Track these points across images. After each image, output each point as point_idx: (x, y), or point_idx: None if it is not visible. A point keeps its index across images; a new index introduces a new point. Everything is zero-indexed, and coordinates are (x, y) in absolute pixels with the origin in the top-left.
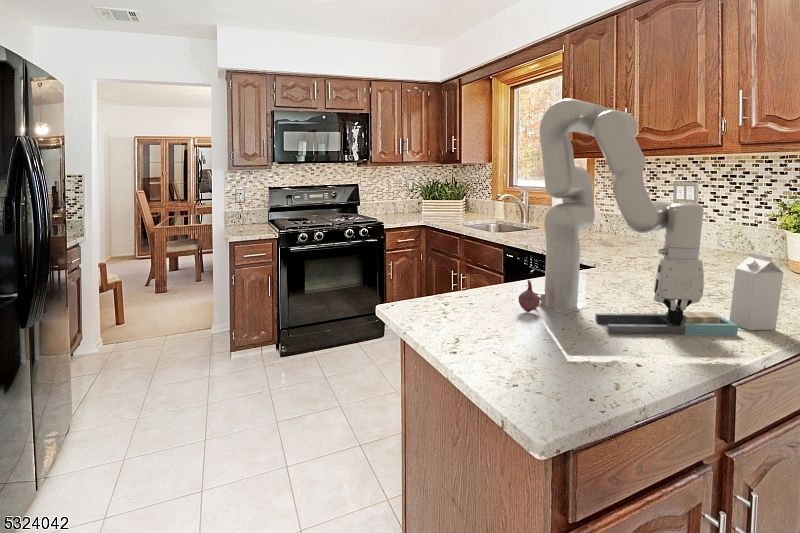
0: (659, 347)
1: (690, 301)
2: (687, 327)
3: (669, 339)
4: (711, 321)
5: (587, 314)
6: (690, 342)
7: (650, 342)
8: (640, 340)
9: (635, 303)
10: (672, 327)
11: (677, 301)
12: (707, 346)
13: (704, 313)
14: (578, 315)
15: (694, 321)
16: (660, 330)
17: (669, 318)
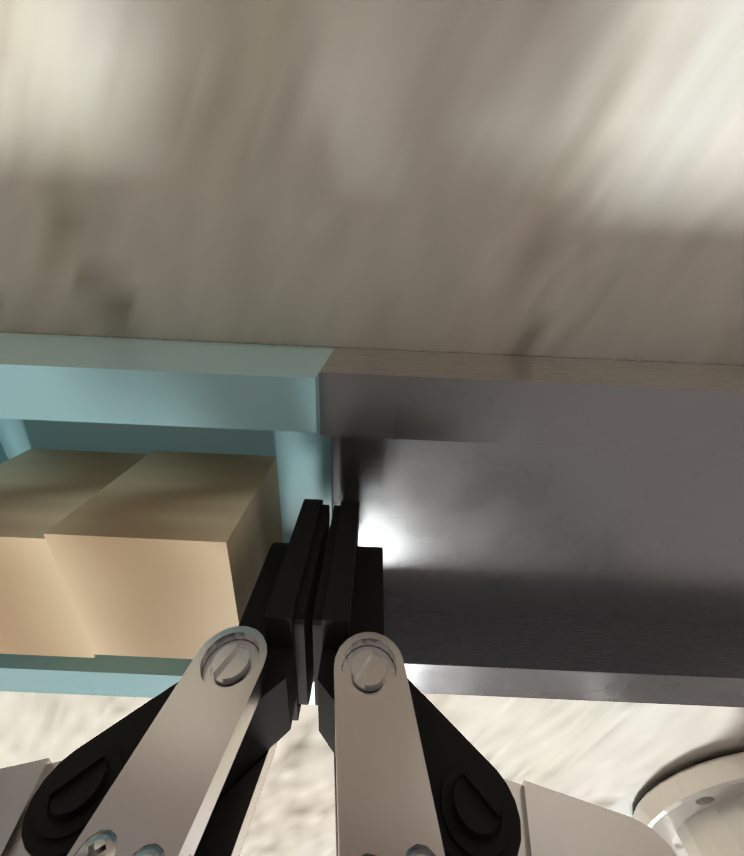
0: (717, 79)
1: (48, 806)
2: (302, 369)
3: (468, 329)
4: (7, 503)
5: (666, 745)
6: (331, 247)
7: (687, 248)
8: (732, 304)
9: (326, 835)
10: (462, 375)
11: (245, 823)
12: (224, 119)
13: (17, 635)
14: (728, 736)
15: (171, 508)
16: (568, 371)
17: (382, 571)
